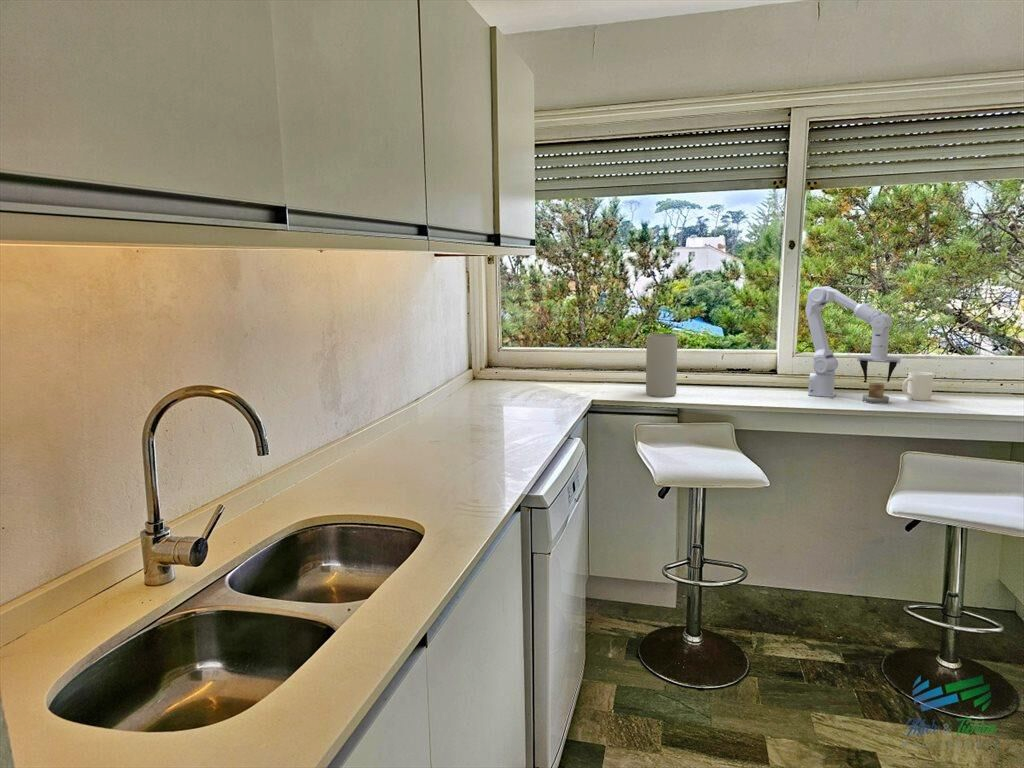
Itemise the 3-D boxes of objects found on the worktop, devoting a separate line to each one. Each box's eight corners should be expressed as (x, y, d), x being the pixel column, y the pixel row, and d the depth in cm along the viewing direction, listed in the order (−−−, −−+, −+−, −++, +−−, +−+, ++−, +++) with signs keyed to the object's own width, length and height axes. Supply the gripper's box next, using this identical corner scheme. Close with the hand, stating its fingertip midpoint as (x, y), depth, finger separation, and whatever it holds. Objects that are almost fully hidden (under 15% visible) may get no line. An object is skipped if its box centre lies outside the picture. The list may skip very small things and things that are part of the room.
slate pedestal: (861, 402, 261) (862, 397, 260) (863, 398, 268) (863, 393, 268) (888, 404, 256) (888, 399, 256) (889, 400, 264) (889, 395, 263)
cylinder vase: (679, 397, 279) (680, 336, 274) (648, 397, 279) (649, 337, 275) (672, 391, 291) (673, 333, 287) (643, 392, 291) (644, 334, 287)
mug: (909, 402, 260) (911, 375, 258) (893, 398, 268) (895, 372, 266) (936, 400, 262) (938, 374, 260) (919, 396, 270) (921, 370, 268)
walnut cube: (868, 397, 261) (869, 384, 260) (868, 394, 265) (869, 382, 264) (883, 398, 258) (884, 385, 257) (883, 395, 262) (884, 383, 262)
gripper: (857, 346, 259) (855, 380, 261) (901, 347, 251) (898, 383, 254) (859, 343, 265) (856, 378, 267) (901, 345, 257) (898, 380, 260)
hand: (876, 380), depth 261 cm, fingers open, 7 cm apart
